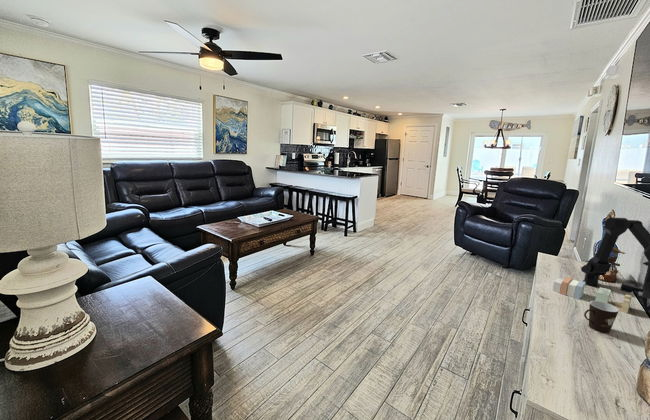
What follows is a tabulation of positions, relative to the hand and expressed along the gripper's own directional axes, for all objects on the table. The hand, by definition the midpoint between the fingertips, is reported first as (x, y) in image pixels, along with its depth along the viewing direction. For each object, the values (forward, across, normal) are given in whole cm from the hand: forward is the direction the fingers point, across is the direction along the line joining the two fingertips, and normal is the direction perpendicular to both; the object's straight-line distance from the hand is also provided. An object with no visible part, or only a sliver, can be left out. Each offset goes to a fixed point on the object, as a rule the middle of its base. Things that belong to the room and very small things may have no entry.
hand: (646, 311), depth 130 cm
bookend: (+2, -8, 0) cm, 8 cm away
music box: (+2, -20, +39) cm, 44 cm away
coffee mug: (+2, -13, -30) cm, 33 cm away
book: (+2, -14, 0) cm, 15 cm away
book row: (+2, -27, 0) cm, 28 cm away
